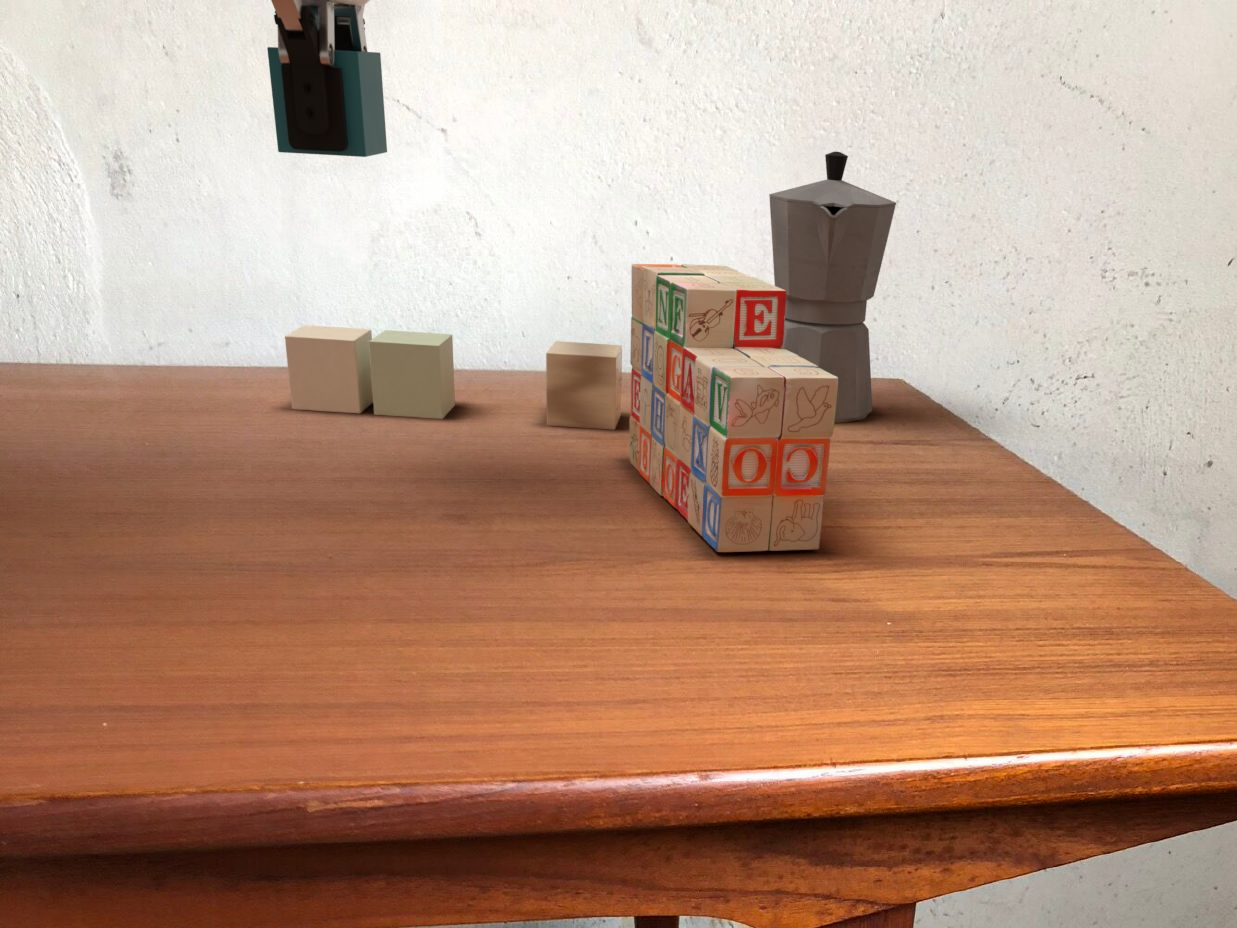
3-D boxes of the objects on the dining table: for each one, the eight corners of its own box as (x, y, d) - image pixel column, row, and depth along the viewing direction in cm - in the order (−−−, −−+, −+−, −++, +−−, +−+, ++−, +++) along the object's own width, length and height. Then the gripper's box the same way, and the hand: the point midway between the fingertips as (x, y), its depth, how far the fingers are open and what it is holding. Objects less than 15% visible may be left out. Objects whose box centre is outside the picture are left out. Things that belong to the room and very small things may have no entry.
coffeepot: (876, 432, 105) (906, 160, 96) (752, 424, 105) (770, 151, 96) (868, 393, 118) (894, 150, 109) (758, 386, 118) (774, 142, 109)
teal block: (278, 152, 78) (266, 47, 76) (303, 147, 83) (294, 48, 80) (365, 157, 78) (357, 52, 76) (387, 152, 83) (380, 52, 80)
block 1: (291, 409, 101) (284, 335, 99) (310, 396, 105) (303, 324, 103) (360, 414, 101) (354, 340, 99) (376, 400, 105) (371, 329, 103)
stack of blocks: (823, 553, 78) (846, 314, 71) (716, 556, 76) (729, 312, 70) (715, 460, 95) (726, 261, 88) (626, 461, 93) (630, 258, 87)
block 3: (546, 425, 101) (546, 352, 99) (555, 411, 105) (554, 340, 103) (615, 430, 101) (616, 356, 99) (621, 416, 105) (622, 345, 103)
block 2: (374, 415, 101) (368, 341, 99) (389, 401, 105) (384, 330, 103) (442, 419, 101) (439, 345, 99) (455, 405, 105) (452, 334, 103)
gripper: (276, -237, 78) (311, 138, 88) (160, -305, 64) (218, 152, 73) (409, -230, 78) (429, 144, 88) (323, -297, 63) (359, 160, 73)
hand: (333, 143), depth 80 cm, fingers closed on teal block, 5 cm apart
